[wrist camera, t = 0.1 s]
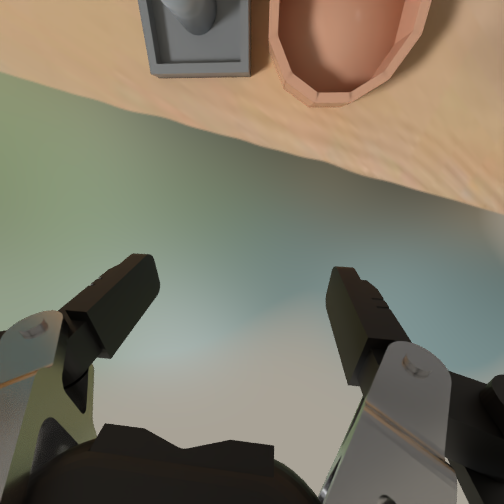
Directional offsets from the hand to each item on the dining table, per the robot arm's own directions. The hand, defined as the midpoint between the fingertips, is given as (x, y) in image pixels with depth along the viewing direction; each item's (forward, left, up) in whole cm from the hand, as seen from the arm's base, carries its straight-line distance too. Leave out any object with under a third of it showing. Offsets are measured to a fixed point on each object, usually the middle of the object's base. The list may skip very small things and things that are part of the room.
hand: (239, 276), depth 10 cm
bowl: (-17, +8, -29) cm, 35 cm away
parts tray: (-19, -9, -29) cm, 36 cm away
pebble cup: (-19, -9, -28) cm, 35 cm away
